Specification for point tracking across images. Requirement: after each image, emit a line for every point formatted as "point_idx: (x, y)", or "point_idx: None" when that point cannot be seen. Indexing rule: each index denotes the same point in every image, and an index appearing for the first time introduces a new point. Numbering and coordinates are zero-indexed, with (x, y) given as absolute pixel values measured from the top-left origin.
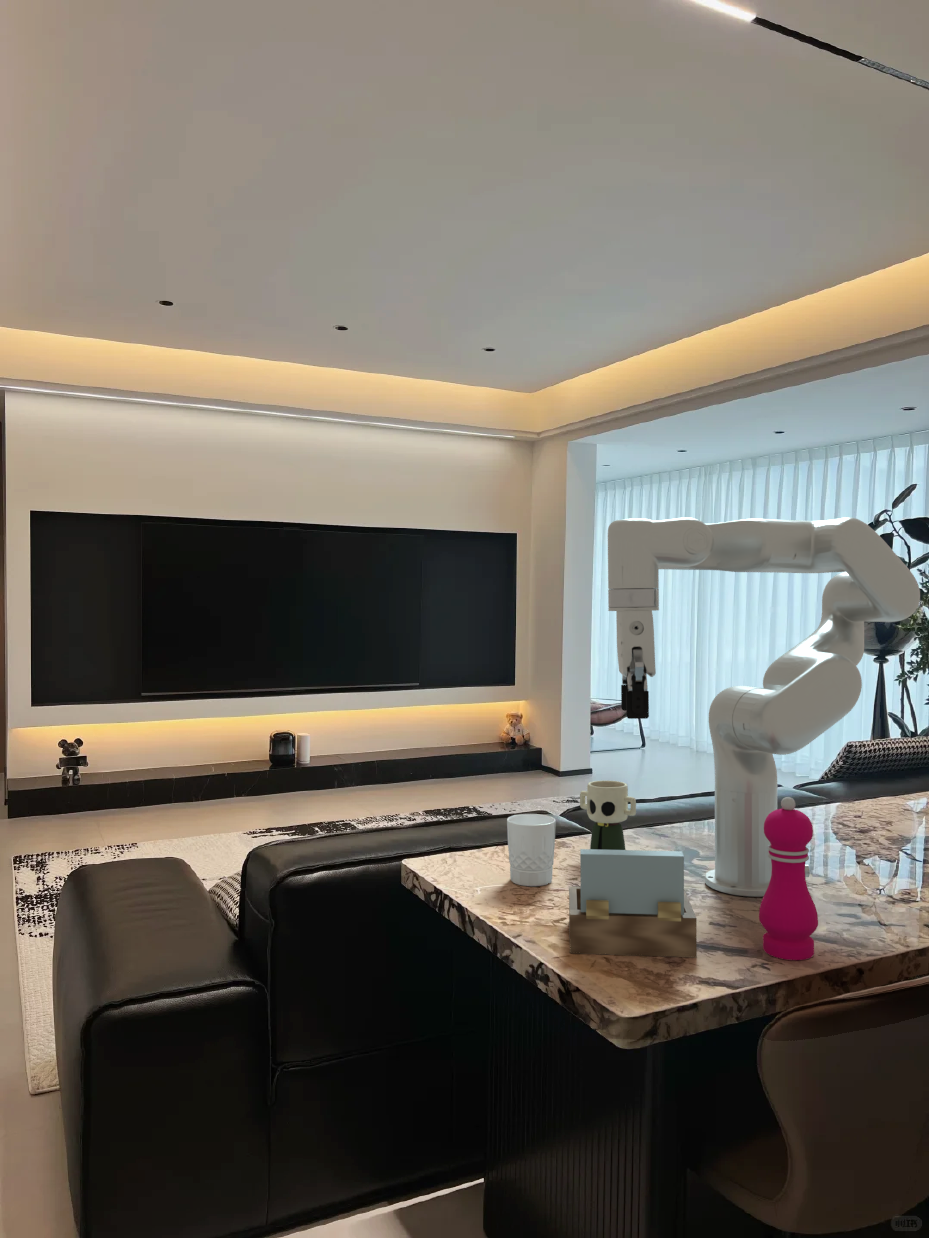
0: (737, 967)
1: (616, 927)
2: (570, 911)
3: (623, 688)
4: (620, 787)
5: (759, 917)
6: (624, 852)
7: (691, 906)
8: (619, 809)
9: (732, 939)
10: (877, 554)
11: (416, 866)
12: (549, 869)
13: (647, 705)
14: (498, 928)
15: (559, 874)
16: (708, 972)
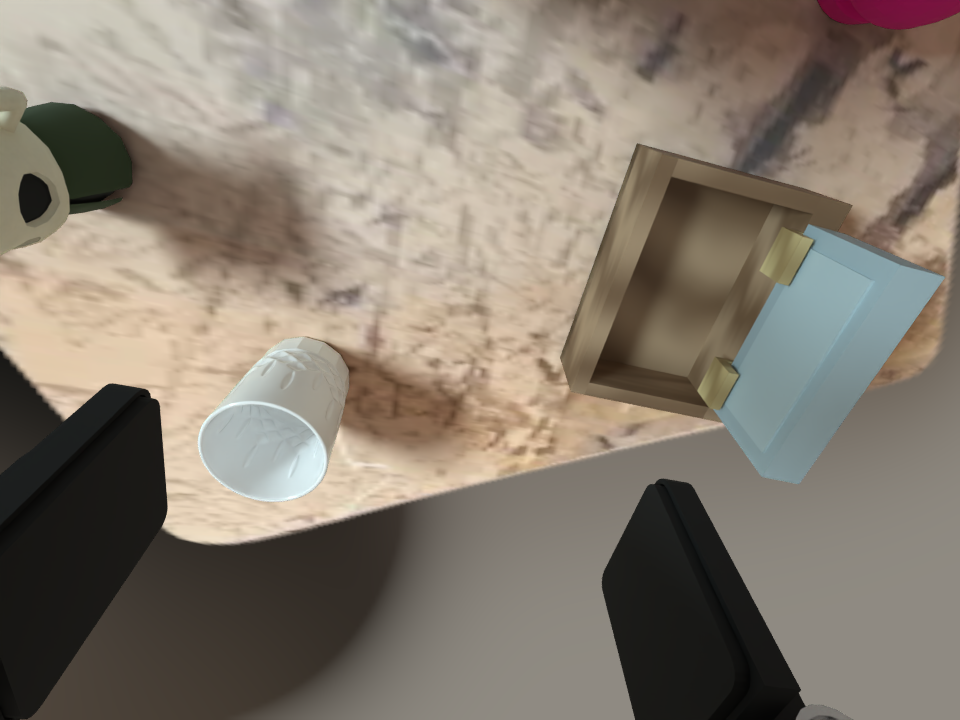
0: (881, 127)
1: None
2: (713, 419)
3: (41, 690)
4: None
5: (883, 26)
6: (834, 400)
7: (781, 186)
8: (23, 156)
9: (752, 66)
10: None
11: (220, 537)
12: (324, 360)
13: (723, 562)
14: (565, 461)
15: (261, 312)
16: (873, 194)
